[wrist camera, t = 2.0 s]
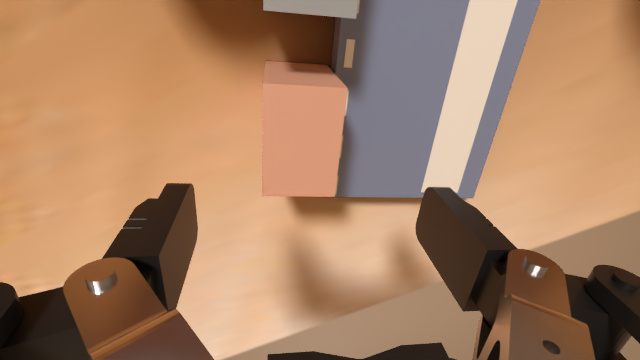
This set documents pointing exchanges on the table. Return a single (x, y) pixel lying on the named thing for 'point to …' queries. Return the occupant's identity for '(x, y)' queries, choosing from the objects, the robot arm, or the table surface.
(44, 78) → the table surface
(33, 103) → the table surface
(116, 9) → the table surface
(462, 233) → the robot arm
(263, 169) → the stub terracotta
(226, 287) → the table surface
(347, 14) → the stub grey
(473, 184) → the ticket slab
